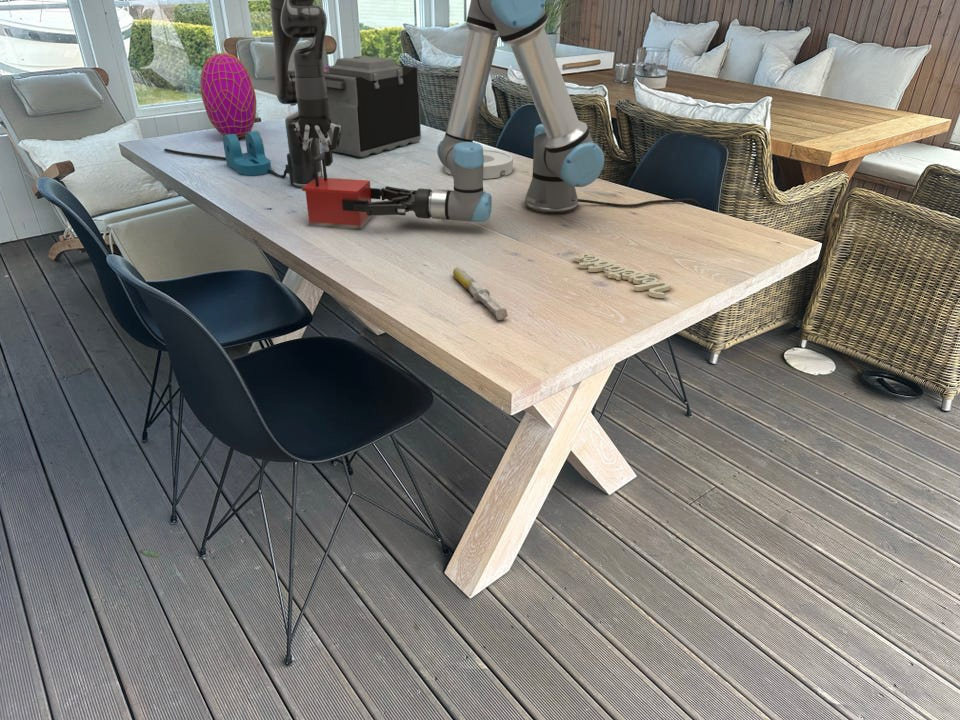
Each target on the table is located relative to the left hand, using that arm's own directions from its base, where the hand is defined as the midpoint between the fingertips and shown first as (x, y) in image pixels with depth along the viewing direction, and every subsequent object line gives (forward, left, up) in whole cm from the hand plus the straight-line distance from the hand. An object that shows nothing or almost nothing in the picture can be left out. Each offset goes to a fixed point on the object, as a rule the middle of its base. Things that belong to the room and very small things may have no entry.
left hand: (319, 164), depth 178 cm
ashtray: (+27, +61, -15) cm, 68 cm away
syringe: (+52, -36, -15) cm, 65 cm away
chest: (+5, 0, -15) cm, 16 cm away
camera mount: (-46, +41, -15) cm, 63 cm away
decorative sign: (+81, -16, -15) cm, 84 cm away
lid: (+4, 0, -6) cm, 7 cm away
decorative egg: (-75, +79, -15) cm, 110 cm away
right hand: (+8, +1, -9) cm, 11 cm away
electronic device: (-20, +82, -15) cm, 85 cm away
